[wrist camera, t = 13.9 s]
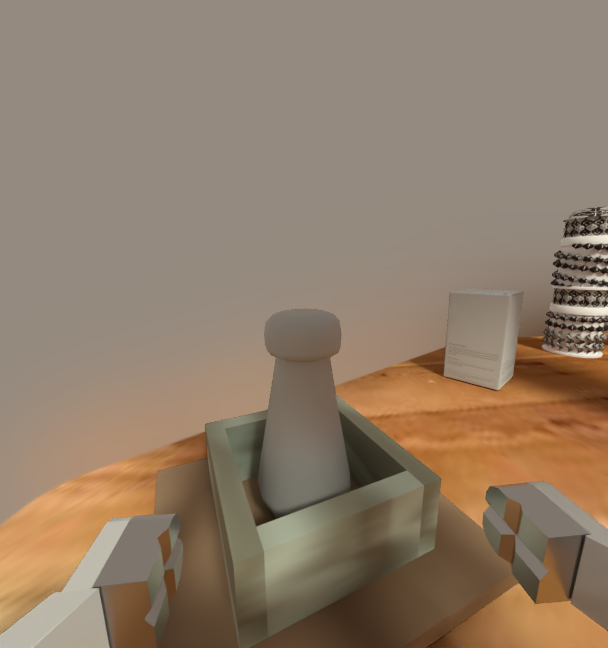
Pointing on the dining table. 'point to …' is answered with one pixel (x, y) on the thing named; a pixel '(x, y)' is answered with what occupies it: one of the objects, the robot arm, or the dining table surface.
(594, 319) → the decorative candle
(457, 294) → the supplement box
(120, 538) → the robot arm
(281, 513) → the salt shaker
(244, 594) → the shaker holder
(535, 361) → the dining table surface
